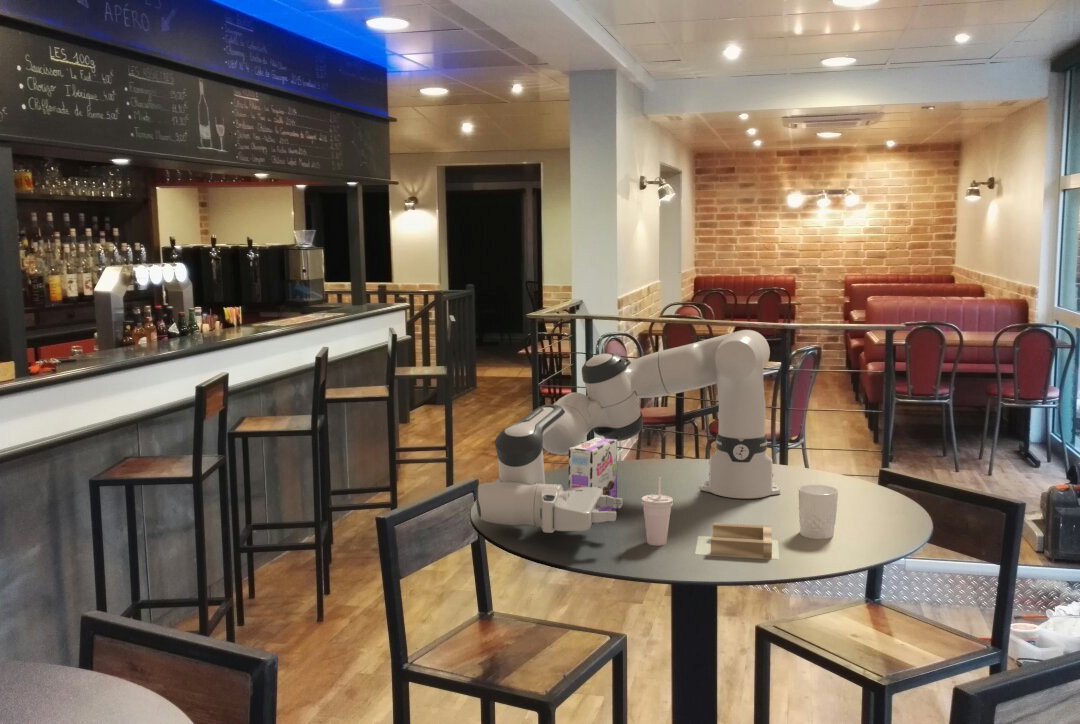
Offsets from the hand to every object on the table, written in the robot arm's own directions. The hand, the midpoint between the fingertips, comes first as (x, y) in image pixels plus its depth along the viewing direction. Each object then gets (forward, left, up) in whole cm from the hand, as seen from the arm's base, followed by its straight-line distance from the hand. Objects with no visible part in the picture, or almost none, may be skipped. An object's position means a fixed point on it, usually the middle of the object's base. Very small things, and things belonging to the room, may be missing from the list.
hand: (619, 509), depth 203 cm
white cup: (-12, +40, -7) cm, 42 cm away
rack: (0, +24, -7) cm, 24 cm away
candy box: (-19, -8, -7) cm, 23 cm away
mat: (0, +24, -7) cm, 25 cm away
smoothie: (0, +8, -7) cm, 11 cm away
